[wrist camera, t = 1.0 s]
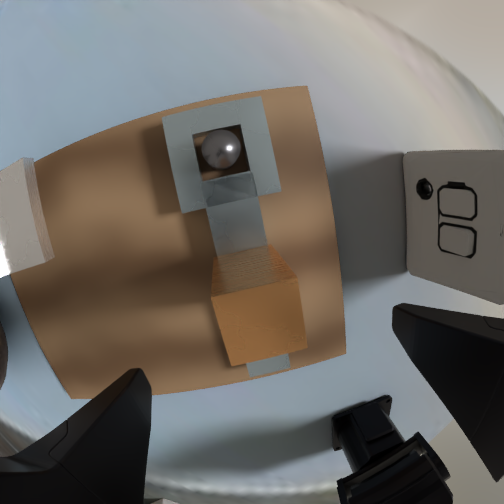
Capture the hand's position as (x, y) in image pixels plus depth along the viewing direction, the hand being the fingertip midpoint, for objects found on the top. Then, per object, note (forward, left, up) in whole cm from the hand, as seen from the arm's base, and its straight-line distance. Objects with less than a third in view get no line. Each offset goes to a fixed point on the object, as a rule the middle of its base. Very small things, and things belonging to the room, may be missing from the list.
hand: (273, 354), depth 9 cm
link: (+1, 0, -8) cm, 9 cm away
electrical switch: (+1, -15, -10) cm, 18 cm away
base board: (+1, +6, -10) cm, 12 cm away
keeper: (+7, +14, -9) cm, 18 cm away
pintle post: (+7, 0, -10) cm, 12 cm away
